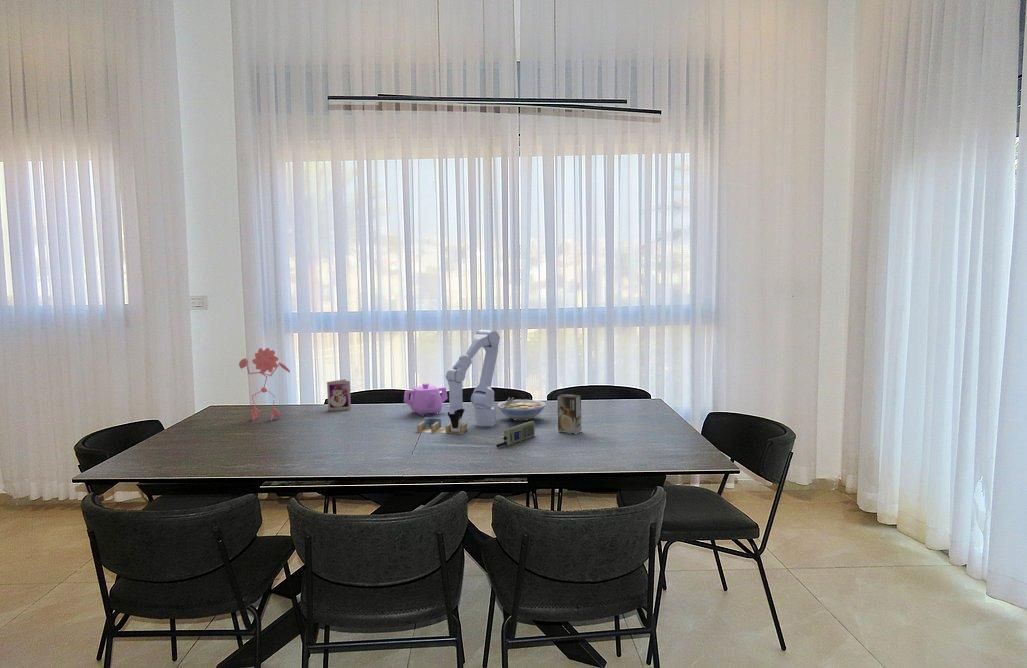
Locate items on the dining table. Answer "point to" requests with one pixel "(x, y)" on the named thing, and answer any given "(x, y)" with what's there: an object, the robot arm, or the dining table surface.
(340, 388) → the greeting card
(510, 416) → the ramen bowl
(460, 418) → the grey rectangular block
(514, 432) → the handheld radio
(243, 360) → the figurine
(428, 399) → the teapot
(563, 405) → the coffee box
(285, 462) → the dining table surface
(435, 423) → the cable comb
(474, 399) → the robot arm
